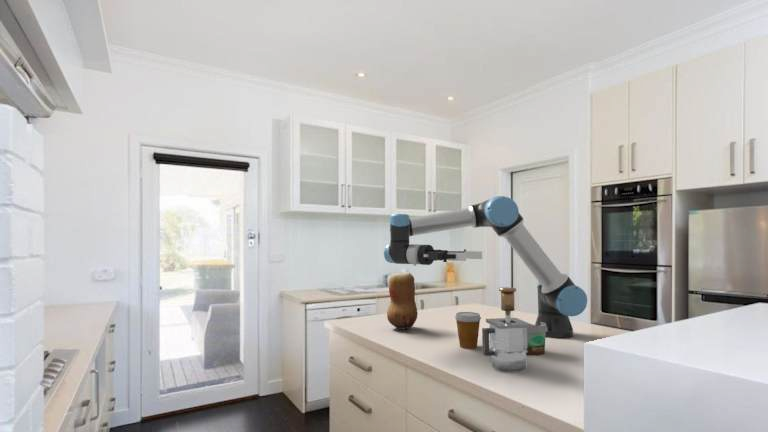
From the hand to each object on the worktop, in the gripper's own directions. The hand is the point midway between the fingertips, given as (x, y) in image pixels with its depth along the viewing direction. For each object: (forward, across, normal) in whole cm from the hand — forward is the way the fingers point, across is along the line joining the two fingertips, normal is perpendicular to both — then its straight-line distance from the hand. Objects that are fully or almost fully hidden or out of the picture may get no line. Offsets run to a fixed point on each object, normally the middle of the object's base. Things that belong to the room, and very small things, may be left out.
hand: (474, 256), depth 145 cm
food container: (+16, -14, -34) cm, 41 cm away
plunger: (+14, +6, -27) cm, 31 cm away
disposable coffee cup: (-7, -9, -34) cm, 36 cm away
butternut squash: (-43, -20, -34) cm, 58 cm away
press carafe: (+13, +7, -34) cm, 37 cm away
